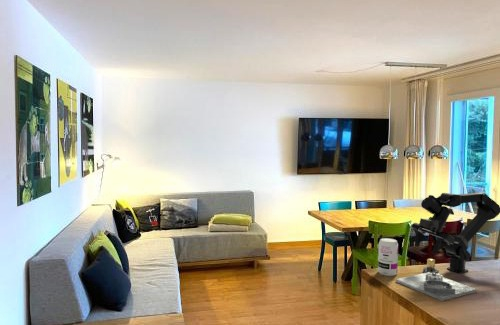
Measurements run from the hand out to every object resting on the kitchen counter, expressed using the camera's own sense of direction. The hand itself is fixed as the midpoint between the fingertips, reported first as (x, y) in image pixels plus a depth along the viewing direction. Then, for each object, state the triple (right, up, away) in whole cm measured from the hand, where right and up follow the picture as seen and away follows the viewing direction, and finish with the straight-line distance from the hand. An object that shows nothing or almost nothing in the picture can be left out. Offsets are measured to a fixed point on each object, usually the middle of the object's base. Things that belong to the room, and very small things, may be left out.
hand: (423, 250), depth 175 cm
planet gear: (+4, -11, +3) cm, 12 cm away
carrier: (-2, -12, -14) cm, 18 cm away
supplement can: (-15, -11, +2) cm, 19 cm away
